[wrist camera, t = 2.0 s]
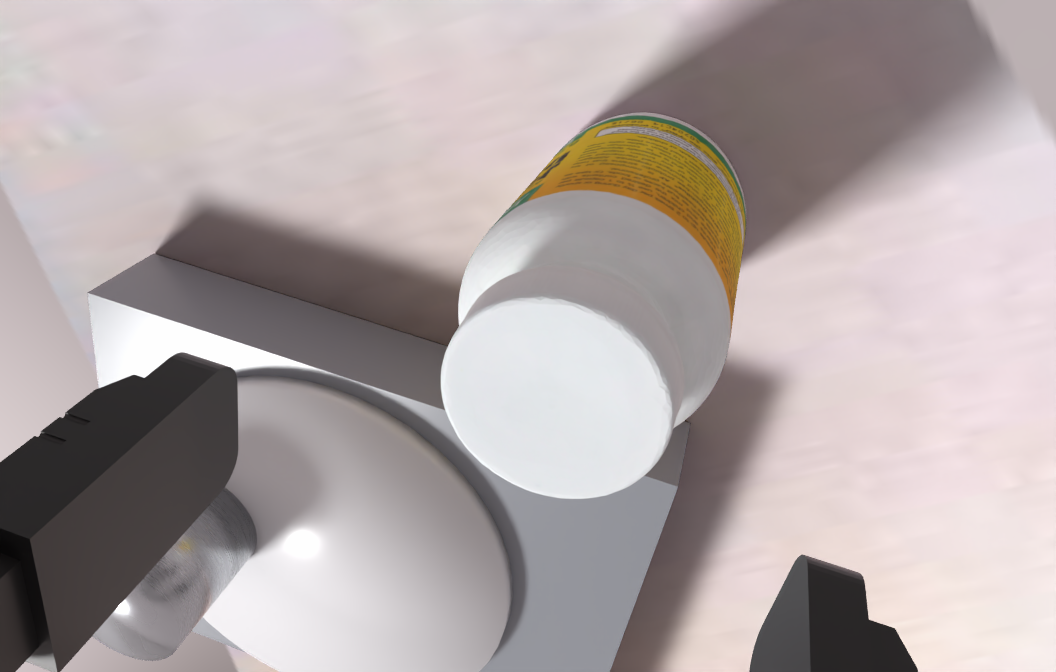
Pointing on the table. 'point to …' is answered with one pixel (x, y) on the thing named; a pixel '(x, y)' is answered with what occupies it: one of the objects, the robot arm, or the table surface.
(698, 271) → the supplement bottle
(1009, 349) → the table surface
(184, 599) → the cylinder
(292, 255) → the table surface
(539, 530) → the scale
